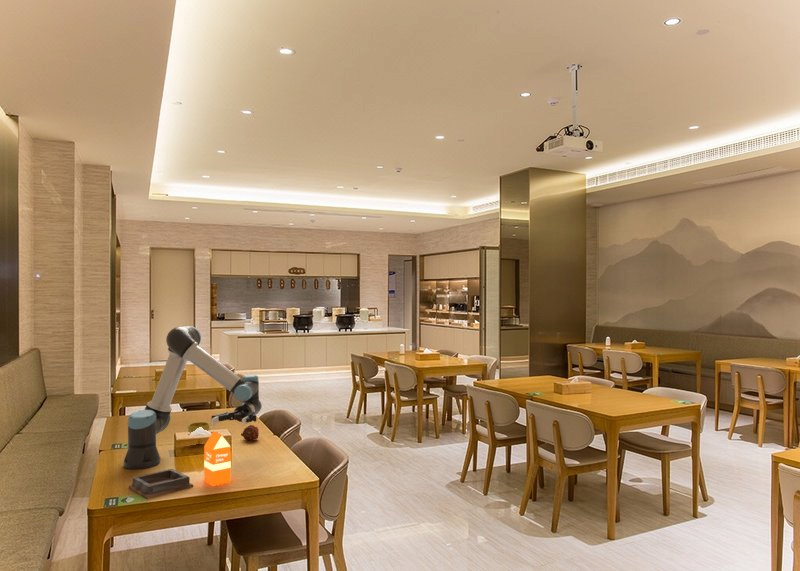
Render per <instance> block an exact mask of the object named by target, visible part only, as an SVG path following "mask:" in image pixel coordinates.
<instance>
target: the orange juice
mask: <svg viewBox="0 0 800 571" xmlns="http://www.w3.org/2000/svg"><path fill="white" fill-rule="evenodd" d="M231 448H232V447H231V444H230V443H229V442H228V441H227V440H226V438H225V437H224V435H222V434H221V433H218V432H216V431H214V430H213V431H212V432H211V434H210V436H209V437H208V439H207V440H206V442H205V443H204V445H203V450H204V452H203V453H204V456H203V458H204V459H203V462H204V463H203V468H204V472H203V473H204V474H203V476H204V478H203V479H204V481H203V482H204V483H206V484H208V483H209V484H208V485H210V486H211V487H215V486H216V485H217V486H221V485H224V483H225V484H228V482H229V483H231V481H232V480H231V479H232V477H231V476H232V475H231V474H232V472H231V471H232V470H231V468H232V460H231V459H232V458H231V457H232V456H231V455H232V454H231V452H232V451H231ZM220 484H221V485H220ZM217 486H216V487H217Z"/></svg>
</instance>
